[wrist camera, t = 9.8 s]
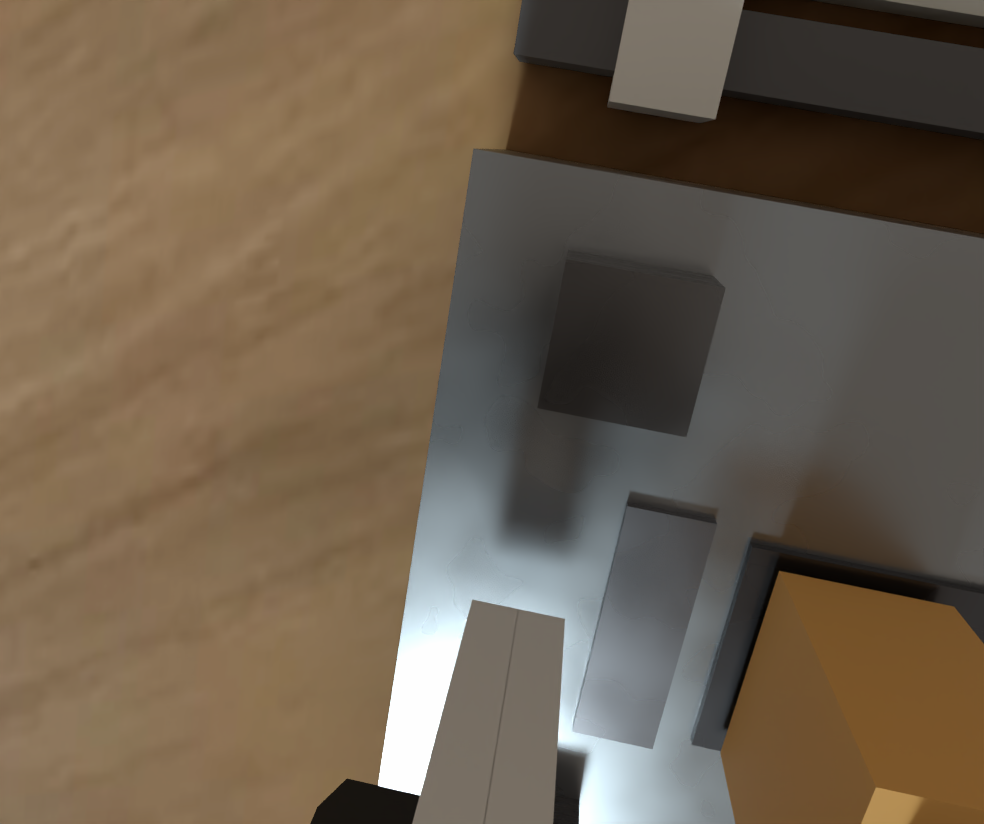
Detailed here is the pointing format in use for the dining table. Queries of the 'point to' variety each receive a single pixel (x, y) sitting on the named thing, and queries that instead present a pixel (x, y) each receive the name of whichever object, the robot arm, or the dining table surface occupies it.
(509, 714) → the robot arm
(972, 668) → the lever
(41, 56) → the dining table surface
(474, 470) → the panel
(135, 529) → the dining table surface
